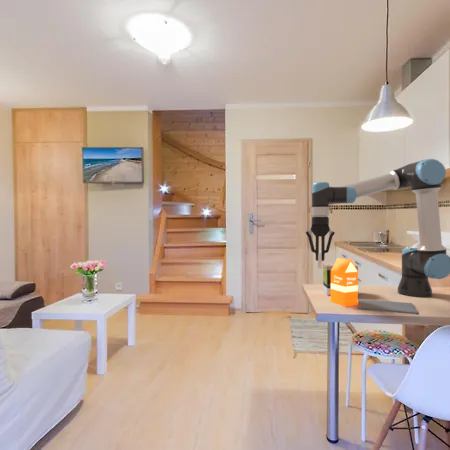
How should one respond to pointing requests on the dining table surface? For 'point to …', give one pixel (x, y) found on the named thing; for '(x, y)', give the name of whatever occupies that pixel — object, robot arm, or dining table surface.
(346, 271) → the orange juice
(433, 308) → the dining table surface
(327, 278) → the tea box
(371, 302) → the mat
